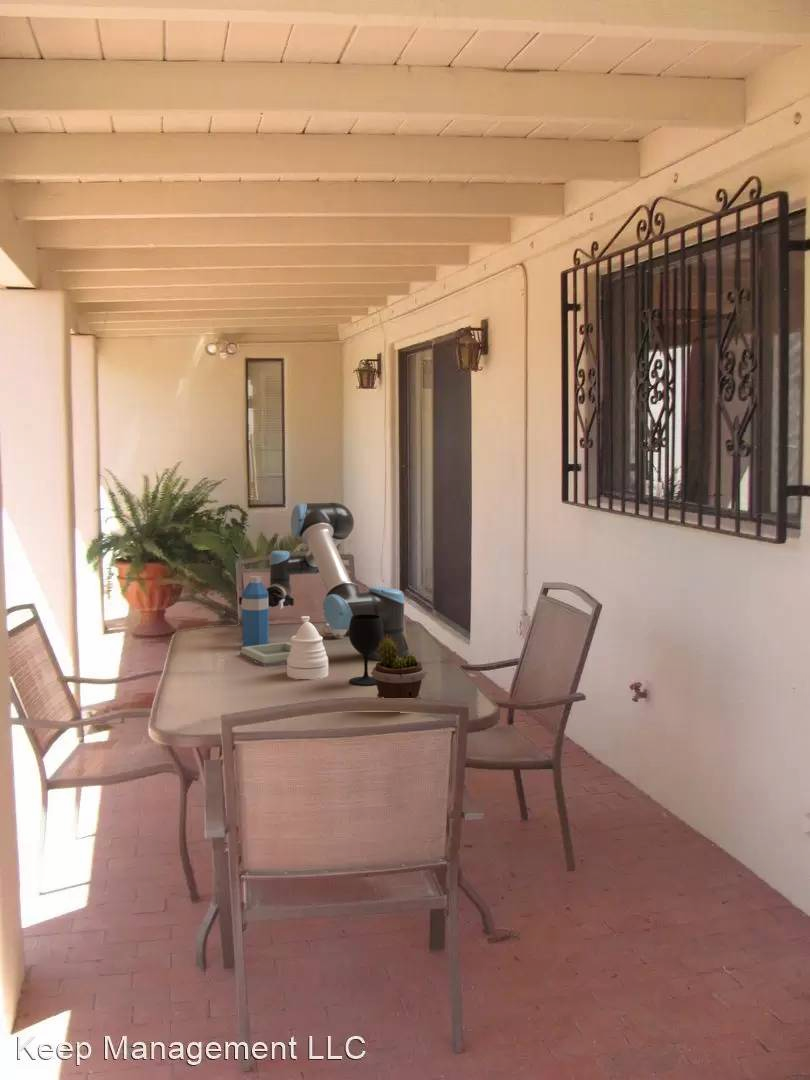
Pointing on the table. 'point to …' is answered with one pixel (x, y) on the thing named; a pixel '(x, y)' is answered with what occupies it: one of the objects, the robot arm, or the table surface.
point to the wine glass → (365, 642)
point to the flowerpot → (397, 673)
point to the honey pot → (307, 654)
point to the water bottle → (255, 613)
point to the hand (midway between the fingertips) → (261, 605)
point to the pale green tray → (268, 653)
